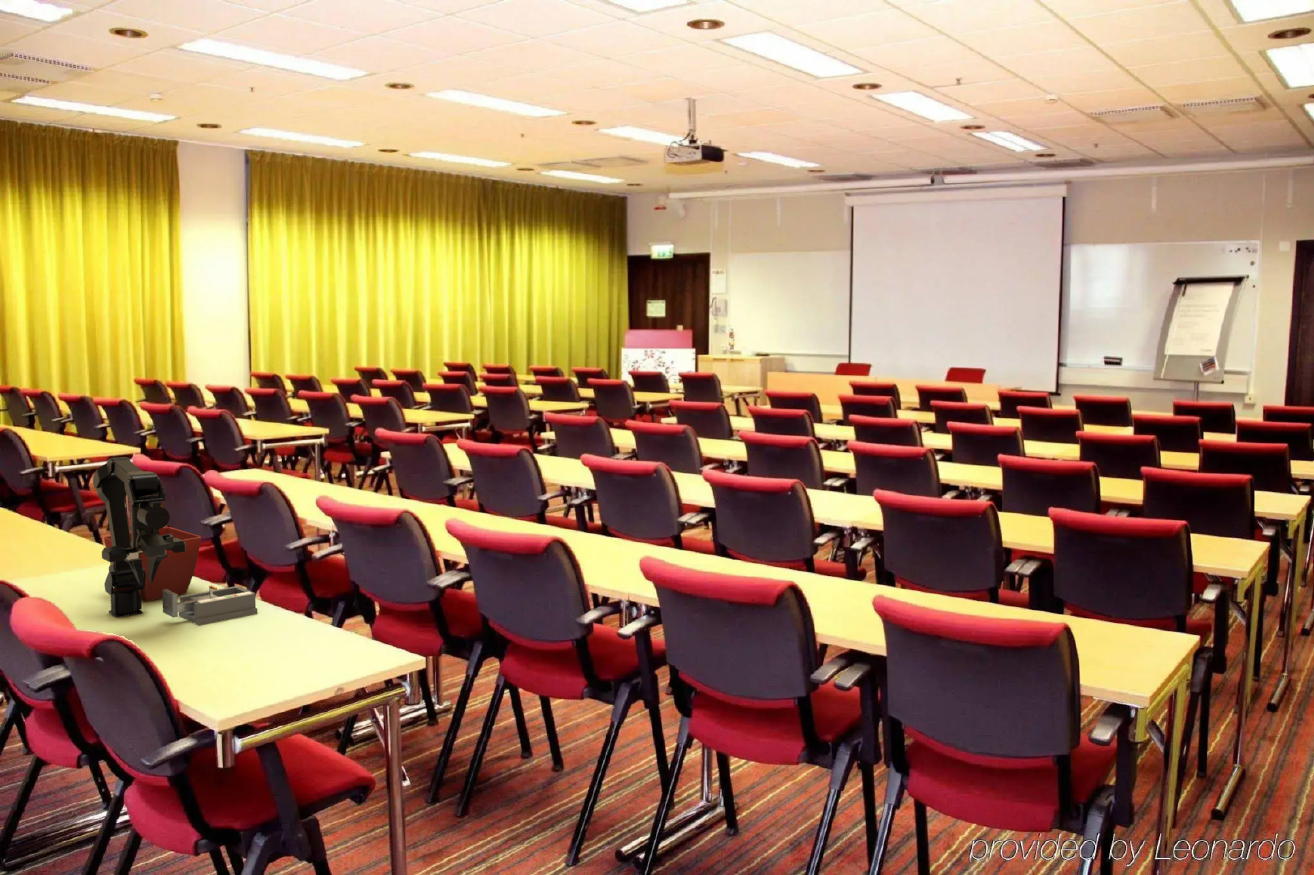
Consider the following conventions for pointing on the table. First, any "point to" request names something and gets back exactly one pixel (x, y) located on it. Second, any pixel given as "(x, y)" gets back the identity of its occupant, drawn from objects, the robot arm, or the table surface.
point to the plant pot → (170, 566)
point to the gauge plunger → (173, 607)
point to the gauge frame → (220, 605)
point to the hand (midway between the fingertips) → (145, 582)
